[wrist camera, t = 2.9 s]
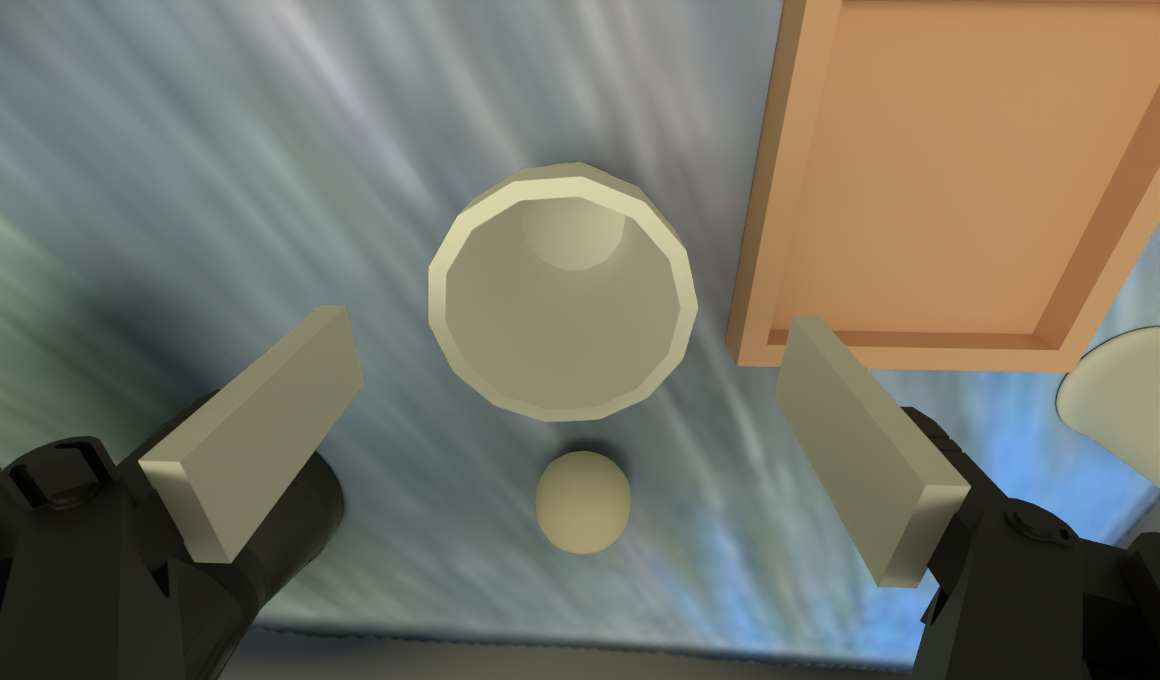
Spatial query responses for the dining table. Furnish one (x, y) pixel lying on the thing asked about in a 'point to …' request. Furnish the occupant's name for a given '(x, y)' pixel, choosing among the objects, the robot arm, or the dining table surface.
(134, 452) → the robot arm
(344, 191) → the dining table surface
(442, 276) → the foam cup
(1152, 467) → the mug
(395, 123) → the dining table surface
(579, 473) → the beige ball
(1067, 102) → the tray
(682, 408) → the dining table surface
